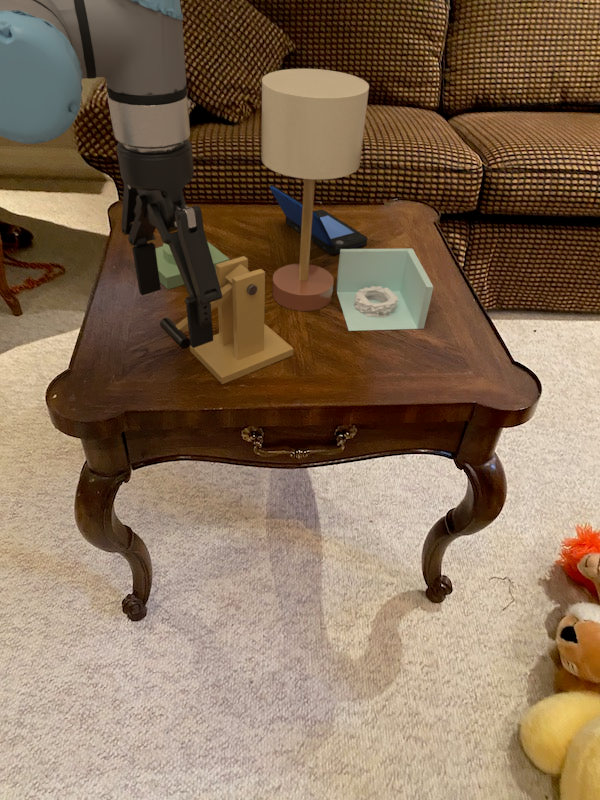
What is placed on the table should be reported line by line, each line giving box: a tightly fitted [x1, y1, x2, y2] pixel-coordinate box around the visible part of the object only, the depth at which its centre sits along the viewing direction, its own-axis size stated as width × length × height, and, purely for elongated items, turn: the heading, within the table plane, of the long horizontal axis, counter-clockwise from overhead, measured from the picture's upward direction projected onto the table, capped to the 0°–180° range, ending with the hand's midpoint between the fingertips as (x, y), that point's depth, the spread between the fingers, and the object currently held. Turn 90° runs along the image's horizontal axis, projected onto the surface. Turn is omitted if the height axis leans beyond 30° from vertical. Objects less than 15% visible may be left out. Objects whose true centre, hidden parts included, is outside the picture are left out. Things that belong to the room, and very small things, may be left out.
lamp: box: [260, 68, 370, 312], centre depth 87 cm, size 14×14×32 cm
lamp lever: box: [159, 264, 251, 350], centre depth 76 cm, size 13×6×2 cm, turn 127°
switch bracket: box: [189, 255, 295, 385], centre depth 80 cm, size 12×9×14 cm
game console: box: [269, 184, 369, 256], centre depth 110 cm, size 16×13×9 cm
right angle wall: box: [335, 247, 434, 332], centre depth 93 cm, size 12×12×8 cm
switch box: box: [155, 240, 231, 290], centre depth 101 cm, size 12×10×4 cm
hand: (174, 316), depth 74 cm, fingers open, 13 cm apart
